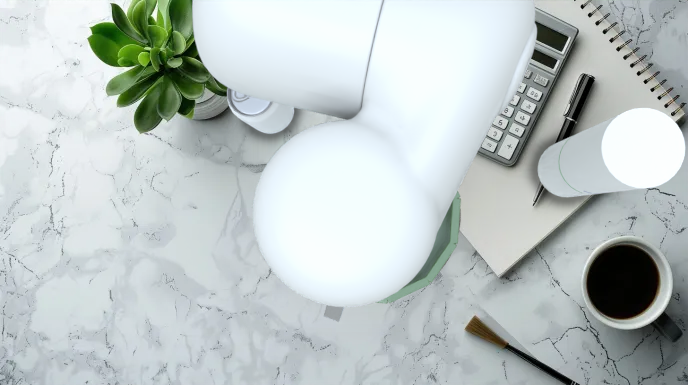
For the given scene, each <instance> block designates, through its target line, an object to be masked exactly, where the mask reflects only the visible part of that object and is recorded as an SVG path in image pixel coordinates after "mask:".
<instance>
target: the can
mask: <svg viewBox="0 0 688 385" xmlns="http://www.w3.org/2000/svg"><path fill="white" fill-rule="evenodd" d="M226 97H227V99H226V100H227V105H228V107H229V109H230V110H231V112H232V114H234V116H236V117H237V118H238V119H239V120H241V121H242V122H244V123H245V124H247V125H248V126H250V127H252V128H253V129H255V130H257V131H258V132H261V133H263V134H269V135H270V134H271V135H272V134H277V133H279V132H281V131H284V130H285V129H286V128H287V127H288V126H289V125H290V124H291V122H292V121H293V119H294V115H295V108H294V107H290V106H286V105H282V104H278V103H274V102H270V101H267V100H263V99H259V98H255V97H252V96H248V95H245V94H242V93H239V92H237V91H234V90H232V89H230V88H228V87H226Z"/></svg>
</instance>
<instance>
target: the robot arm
mask: <svg viewBox="0 0 688 385" xmlns="http://www.w3.org/2000/svg"><path fill="white" fill-rule="evenodd" d="M535 5H536V4H535V0H192V4H191V6H192V8H191V12H192V13H191V14H192V31H193V39H194V42H195V46H196V50H197V53H198V56H199V58H200V60H201V62H202V65H203V66H204V67H205V69H207V71H208V72H209V74H210V75H211V76H212V77H213V78H214V79H215V80H216V81H217V82H219V83H220V84H222V85H223V86H224V87H226V88H230V89H232V90H234V91H237V92H239V93H242V94H245V95H248V96H252V97H255V98H259V99H263V100H267V101H270V102H274V103H278V104H282V105H286V106H290V107H294V109H298V110H303V111H308V112H312V113H317V114H320V115H325V116H329V117H334V118H338V120H337V119H336V120H330V121H325V122H321V123H319V124H315V125H312V126H310V127H307V128H305V129H303V130H302V131H300V132H298V133H296V134H294V135H293V136H292V137H290V138H289V139H288V140H287V141H286V142H284V143H283V144H282V145H280V147H279V148H278V149H277V150H276V151H275V152H274V153H273V155H271V157H270V158H269V160H268V161H267V163H266V165H265V166H264V168H263V170H262V172H261V174H260V177H259V179H258V182H257V184H256V187H255V190H254V197H253V201H252V224H253V231H254V236H255V239H256V243H257V246H258V248H259V251H260V253H261V255H262V257H263V259H264V261H265V262H266V264H267V266H268V267H269V269H270V270H271V271H272V273H273V275H275V276H276V277H277V278H278V279H279V281H281V283H283V284H284V285H285V286H286V287H287V288H289V289H290V290H292V292H294V293H296V294H297V295H300V296H301V297H303V298H305V299H307V300H309V301H312V302H314V303H316V304H317V303H318V304H321V305H324V306H325V310H324V313H323V317H324V318H326V319H329V320H332V321H335V322H338V323H339V322H340V320H341V318H342V315H343V312H344V310H345V308H356V307H363V306H364V307H365V306H368V305H372V304H375V302H378V301H381V300H383V299H385V298H387V297H389V296H391V295H392V294H394V293H396V292H398V291H399V290H400V289H401V288H403V287H404V286H405V285H407V284H408V283H409V282H410V281H411V280H412V279H413V278H414V277H415V276H416V275H417V274H418V272H419V271H420V270H421V268H422V267H423V266H424V264H425V262H426V261H427V259H428V257H429V255H430V253H431V251H432V248H433V245H434V243H435V239H436V235H437V232H438V230H439V228H440V226H441V224H442V222H443V220H444V218H445V216H446V213H447V211H448V209H449V207H450V205H451V203H452V201H453V199H454V197H455V195H456V193H457V191H458V192H459V189H460V187H461V185H462V183H463V181H464V179H465V177H466V175H467V173H468V171H469V170H470V167H471V166H472V164H473V163H474V160H475V158H476V156H477V154H478V152H479V150H480V148H481V146H482V145H483V143H484V140H485V139H486V136H487V135H488V133H489V131H490V129H491V128H492V126H493V123H494V122H495V120H496V118H497V117H498V116H500V115H501V114H502V113H503V112H504V111H505V110H506V109H507V107H509V105H510V103H511V102H512V101H513V100H514V98H515V96H516V93H517V92H518V90H519V88H520V87H521V84H522V82H523V80H524V77H525V75H526V74H527V69H528V67H529V65H530V62H531V59H532V57H533V54H534V51H535V47H536V43H537V37H538V27H537V23H536V6H535Z"/></svg>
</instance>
